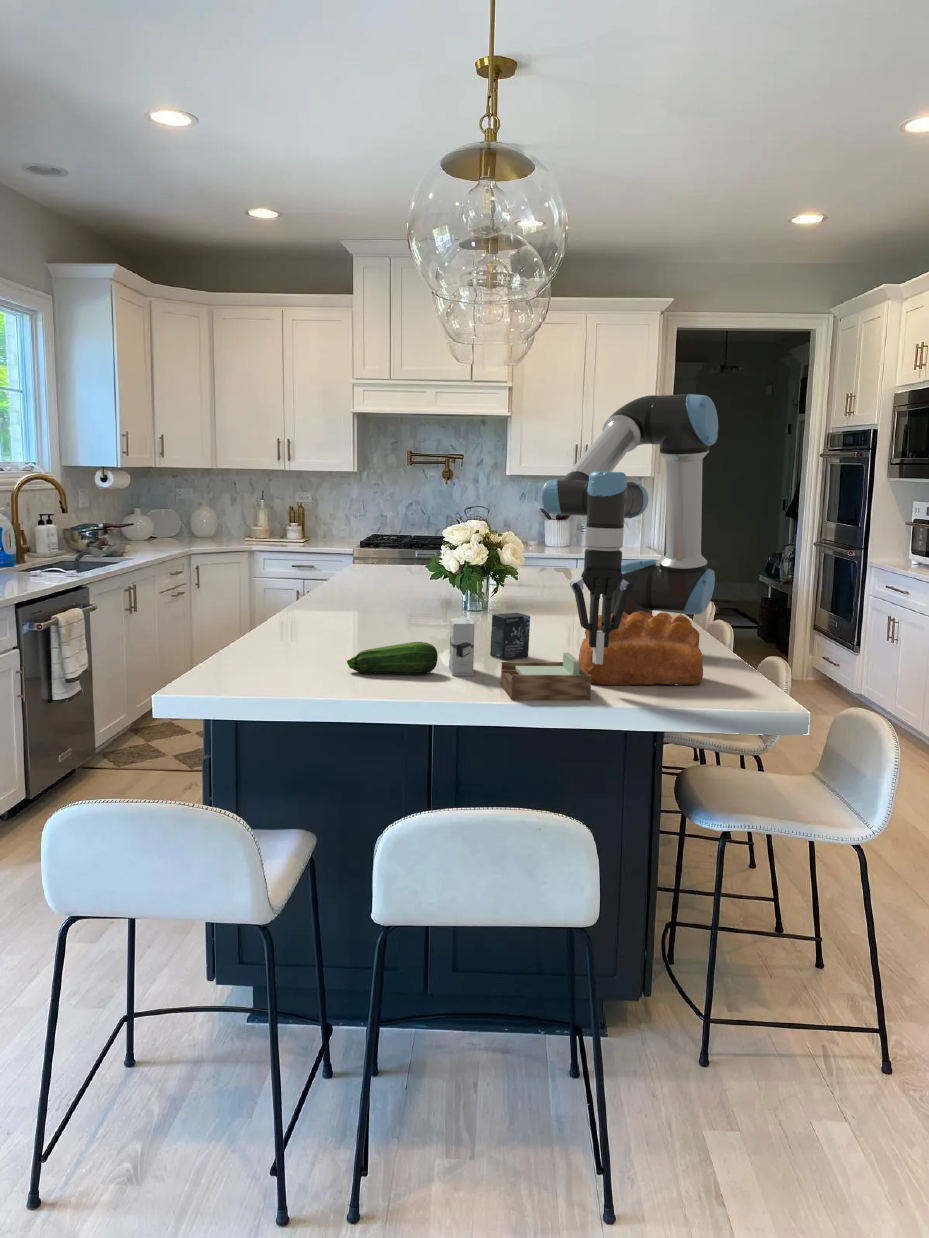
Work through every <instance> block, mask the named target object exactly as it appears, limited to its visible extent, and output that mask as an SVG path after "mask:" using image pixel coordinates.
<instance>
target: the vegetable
mask: <svg viewBox="0 0 929 1238" xmlns="http://www.w3.org/2000/svg"><path fill="white" fill-rule="evenodd" d="M437 650H438V649H437V648H436V647H435V646H434V645H433V644H432V643H429V642H425V641H413V642H406V643H399V644H394V645H393V644H392V645H387V646H381V647H376V648H375V647H374V648H369V649H364V650H362V651H359V652H358V653H357V654H356V656H352V657H351V658H350V659H347V660H346V663H347V666H348V667H349V669H351V670H354V672H355V671H356V672H357V673H359V674H361V675H373V674H394V675H395V674H396V675H412V676H413V675H425V674H428V673H431V672H433V671H434V669H436V667H437V666H438V665H437V664H438V656H439V655H438V651H437Z"/></svg>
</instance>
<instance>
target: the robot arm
mask: <svg viewBox="0 0 929 1238" xmlns="http://www.w3.org/2000/svg"><path fill="white" fill-rule="evenodd" d="M718 419H719V417H718V412H717V408H716V405H715V403H714V401H713V400H712V399H711V397H709V396H708V395H704V394H693V393H692V394H691V393H688V394H667V395H666V394H664V395H663V394H662V395H653V394H652V395H645V396H640V397H639V398H638V397H637V398H636V399H634V400H632V401H630V402H627V403H626V404H625V405H623V406H621V407H620V408H618V409H617V410H616V411H614V412H613V413H612V414H611V415H610V416H609V417H608V418H607V420H606V421H605V422H604V424H603V426H602V431H601V433H600V434H599V436H598V437H597V438H596V439H595V440H594V441H593V443H592V444H591V445H590V446H589V447H588V449H586V451H585V453H583V455H582V456H581V457H580V458H579V459H578V461H577V462H576V463H575V464H574V465H573V467H572V468H571V469H570V470H569V471H568V472H567V474H566V475H565V476H564V477H563V478H562V479H559V478H556V479H549V480H547V481H546V482H545V483H544V485H543V487H542V490H541V505H542V508H543V509H544V511H545V512H546V513H548V514H551V515H552V514H553V515H559V516H577V517H578V516H581V517H582V516H583V517H584V516H585V517H586V524H585V526H586V528H585V541H584V542H585V544H584V545H585V546H586V547H587V548H586V549H585V550H584V558H583V559H584V563H583V571H582V572H581V575H580V578H578V579H576V580H575V581H570V584H569V585H570V588H571V589H572V591H573V593H574V596H575V597H574V598H575V601H576V607H577V613H578V617H579V623H580V627H581V628H583V629H584V630H586V629H587V630H589V646H590V647H593V658H592V662H594V663H595V664H603V652H604V647H608V644H609V633H610V632H611V631H612V630H614V629H618V627H619V624H620V621H621V617H622V614H623V612H625V613H627V614H628V615H631V614H632V613H634V612H638V611H644V612H647V613H650V614H651V615H653V612H654V611H655V612H662V613H675V614H681V615H685V616H687V615H694V616H695V615H696V616H697V615H701V614H703V613H704V612H705V611H706V610H707V609H708V607H709V605H710V603H711V601H712V596H713V593H714V589H715V585H716V583H715V582H716V575H715V570H713V569H711V568H708V560H707V559H706V558H705V557H704V556H703V555H702V519H703V518H702V515H703V514H702V513H703V512H702V507H703V459H704V458H705V457H706V455H708V453H710V446H712V445H714V444H716V442H717V441H718V432H719V420H718ZM642 445H659V455H661V456H662V457H663V458H664V460H665V461H666V463H665V470H666V471H665V555H664V556H663V557H662V558H661V559H660V560H659V565H658V564H657V562H656V559H654V558H652V559H650V558H646V559H633V560H632V559H631V560H623V552H622V550H620V549H622V548H623V547H624V525H625V519H629V520H630V519H633V518H635V517H639V516H640V515H642V514H643V513H644V512H645V511H646V509H647V508H648V505H649V494H648V492H647V489H646V488H645V487H644V486H643V485H641V484H640V483H638V482H634V481H627V475H626V474H625V473H624V472H621V471H614V470H615V468H616V467H617V466H618V464H619V463H620V462H621V461H622V459H623V458H624V457H625V455H626V454H627V453H628V452H632V451H633V450H635V449H636V448H637V447H638V446H642ZM584 585H585V587H586V588H587V590H588V591H589V598H590V599H589V600H590V602H589V617H588V612H587V611H588V610H587V607H586V601H585V596H584V592H583V589H584ZM601 598H602V602H601V603H602V606H601V615H602V620H601V629H602V631H597V630H598V615H600V613H599V610H600V599H601ZM612 613H613V615H612V618H611V614H612ZM610 621H611V622H610Z"/></svg>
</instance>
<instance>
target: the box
mask: <svg viewBox="0 0 929 1238" xmlns="http://www.w3.org/2000/svg"><path fill="white" fill-rule="evenodd" d="M530 628H531V616H530V615H528V614H524V613H522V612H521V613H520V612H507V613H492V615H491V631H490V633H491V635H490V652H489V654H490V657H493V658H495V659H499V660H502V661H505V660H512V659H513V660H514V659H524V658H525V659H526V658H527V659H528V658H529V649H530V646H529V645H530V631H531V630H530Z"/></svg>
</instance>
